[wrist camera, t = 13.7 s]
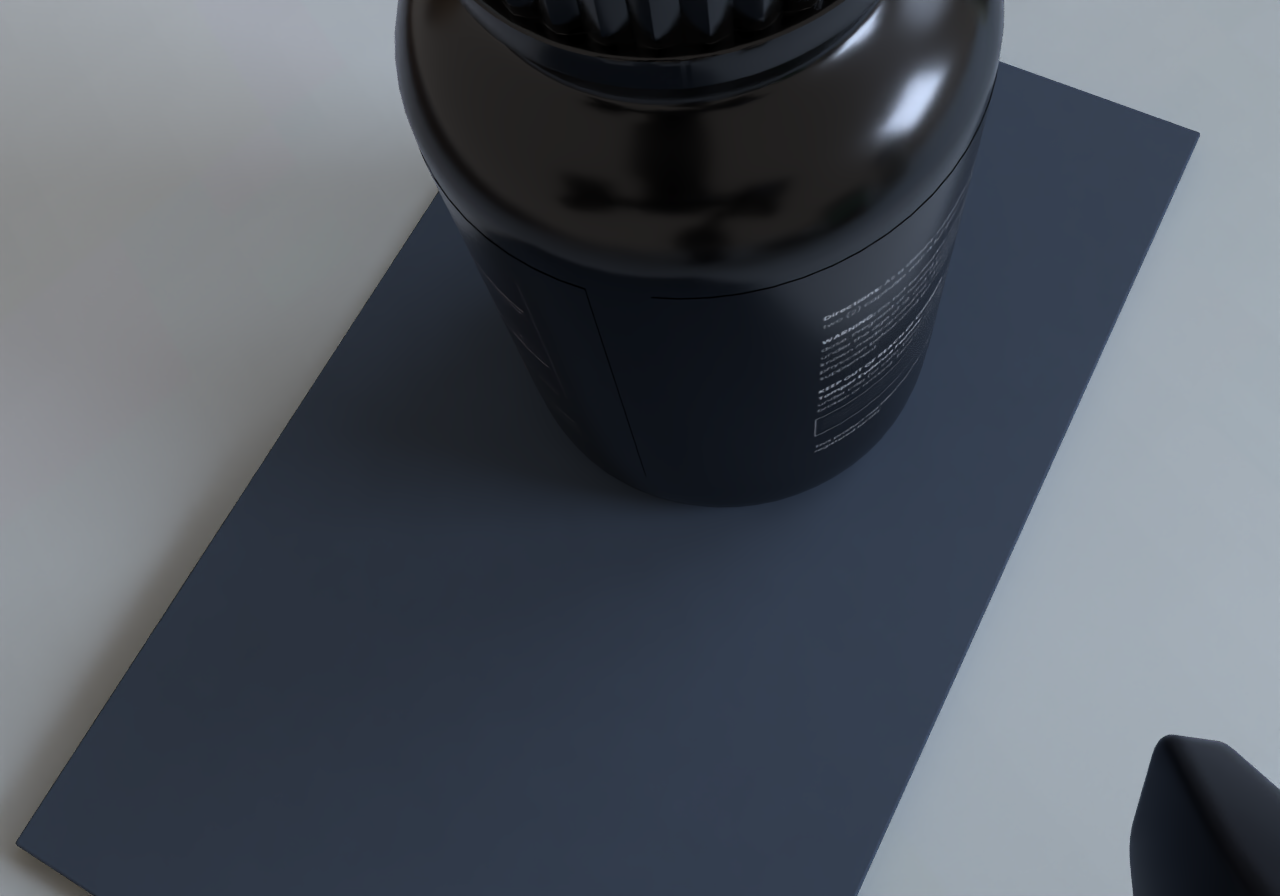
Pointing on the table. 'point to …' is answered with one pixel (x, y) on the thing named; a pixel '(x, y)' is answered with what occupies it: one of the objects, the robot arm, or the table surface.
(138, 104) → the table surface
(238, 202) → the table surface
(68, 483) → the table surface
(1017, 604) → the table surface
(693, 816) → the rubber mat
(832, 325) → the supplement bottle
